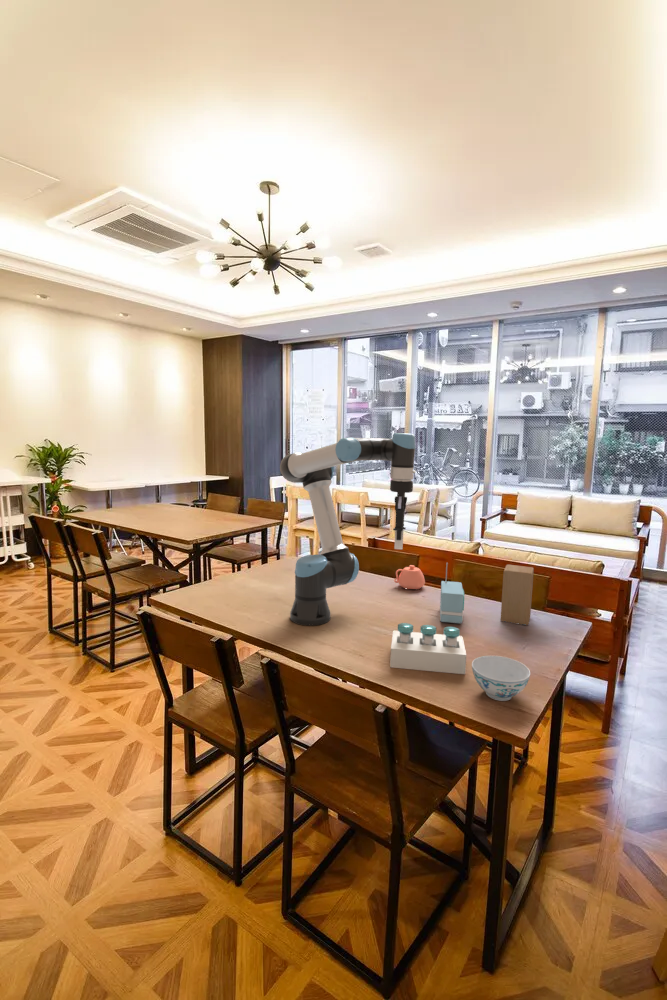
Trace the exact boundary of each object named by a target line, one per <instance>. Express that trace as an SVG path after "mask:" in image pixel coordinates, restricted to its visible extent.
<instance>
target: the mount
mask: <svg viewBox="0 0 667 1000" xmlns="http://www.w3.org/2000/svg"><path fill="white" fill-rule="evenodd" d="M422 636H423V634H422V633H421V632H419V631H418V632H416V631H413V632H412V633H411V641H410V644H406V643H399V640H400V632H399V631H398V630H393V631H392V635H391V637H392V638H391V645H390V659H389V660H390V662H389V665H390V668H393V669H394V668H396V669H404V670H405V669H406V670H415V671H424V672H425V671H427V672H436V673H447V674H457V675H466V671H467V670H466V668H467V667H466V666H467V651H466V648H465V647H466V646H465V642H464V638H463V636H462V635H459V636H458V637H457V647H456V648H452V647H445V640H446V635H444V634H440V633H436V634H435V635H434V641H433V646H429V645H422Z"/></svg>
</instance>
